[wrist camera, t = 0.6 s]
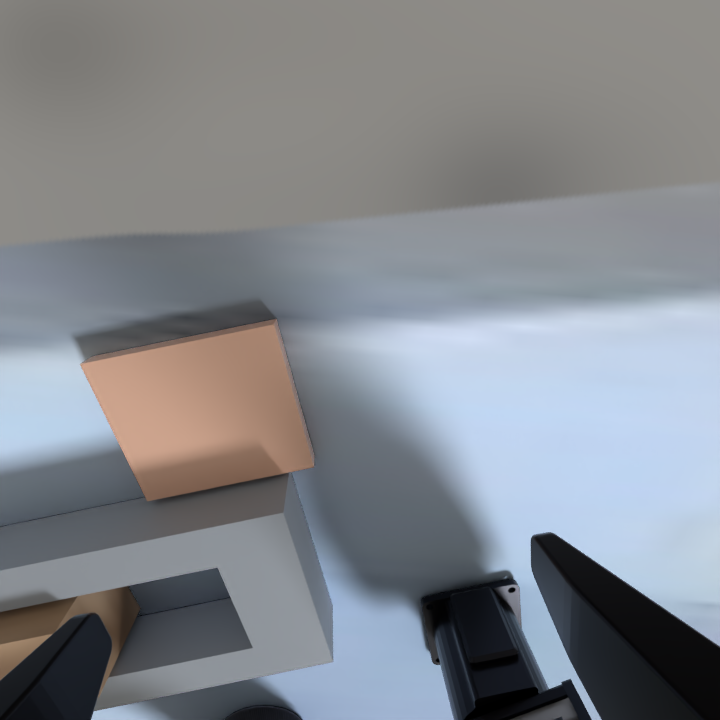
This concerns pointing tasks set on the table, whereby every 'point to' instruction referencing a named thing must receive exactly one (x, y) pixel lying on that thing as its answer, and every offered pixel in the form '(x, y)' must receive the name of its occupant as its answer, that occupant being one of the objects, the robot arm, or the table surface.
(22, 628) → the walnut block
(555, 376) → the table surface
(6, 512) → the table surface
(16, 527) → the pocket board
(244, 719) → the camera lens
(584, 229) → the table surface
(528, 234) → the table surface
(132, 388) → the terracotta tile
